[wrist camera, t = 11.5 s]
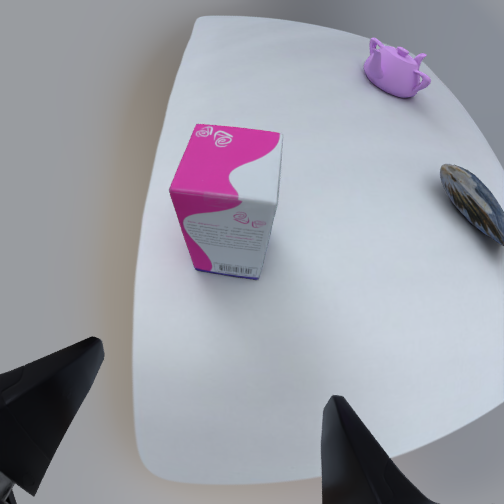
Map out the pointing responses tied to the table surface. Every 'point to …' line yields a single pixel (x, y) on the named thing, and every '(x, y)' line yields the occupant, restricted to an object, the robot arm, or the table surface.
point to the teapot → (395, 70)
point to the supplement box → (228, 197)
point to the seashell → (474, 200)
